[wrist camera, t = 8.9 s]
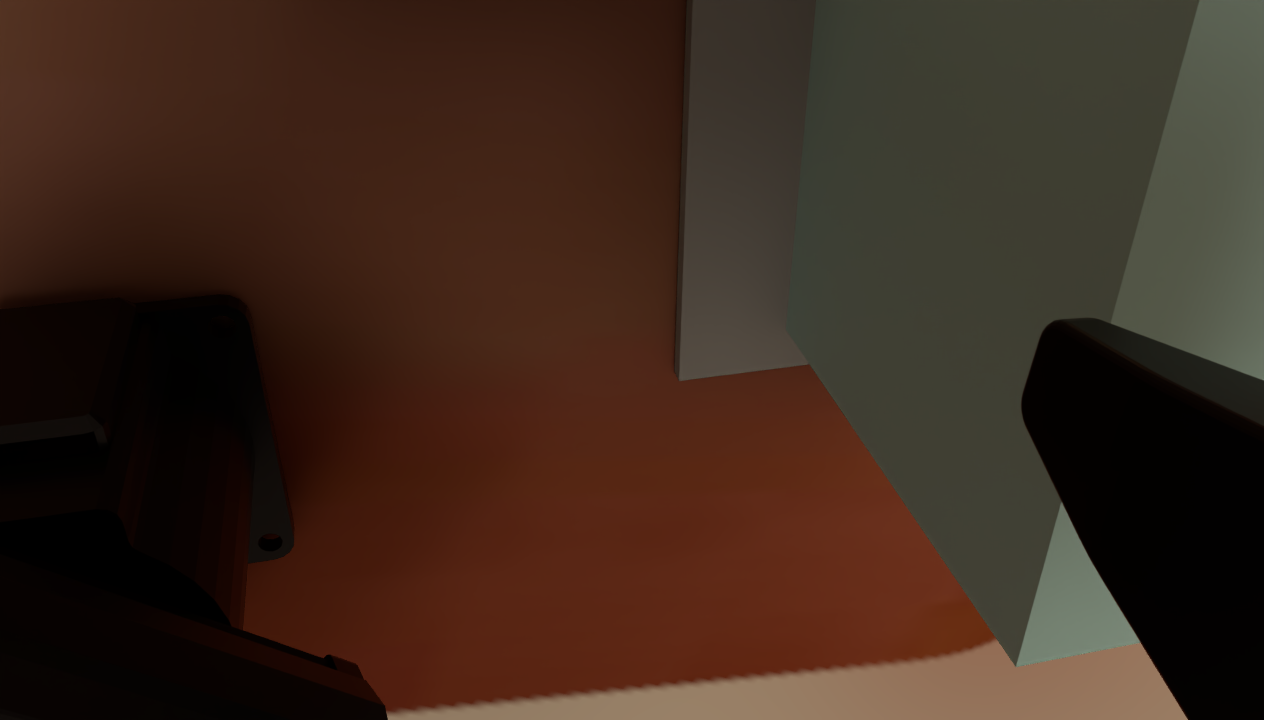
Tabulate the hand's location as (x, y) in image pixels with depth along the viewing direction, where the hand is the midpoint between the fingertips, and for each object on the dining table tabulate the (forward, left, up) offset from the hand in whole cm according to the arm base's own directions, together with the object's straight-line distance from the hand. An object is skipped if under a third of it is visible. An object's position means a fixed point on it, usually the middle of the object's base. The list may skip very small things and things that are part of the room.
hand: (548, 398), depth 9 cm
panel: (-3, -9, -13) cm, 15 cm away
